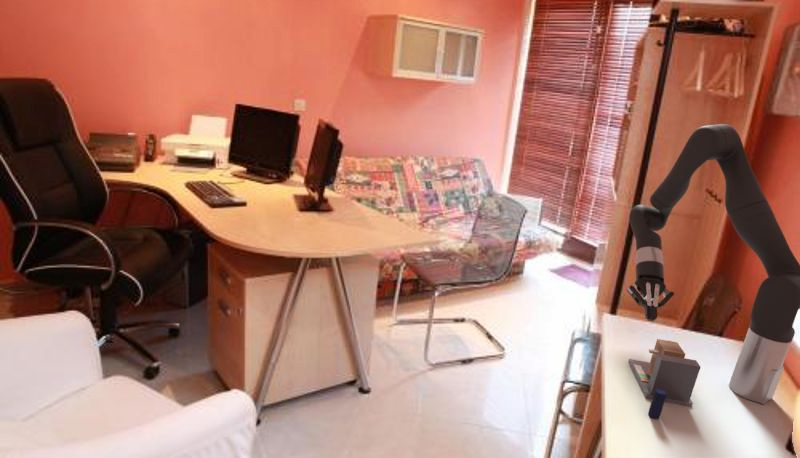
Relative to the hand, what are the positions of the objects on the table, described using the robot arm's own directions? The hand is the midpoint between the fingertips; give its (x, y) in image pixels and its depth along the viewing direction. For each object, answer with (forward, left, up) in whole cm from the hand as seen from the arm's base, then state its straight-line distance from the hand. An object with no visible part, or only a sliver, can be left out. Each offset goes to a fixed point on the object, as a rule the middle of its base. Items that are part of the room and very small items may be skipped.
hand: (651, 320), depth 152 cm
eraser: (-18, +27, -10) cm, 34 cm away
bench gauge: (-11, +12, -10) cm, 19 cm away
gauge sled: (-11, +13, -9) cm, 19 cm away
